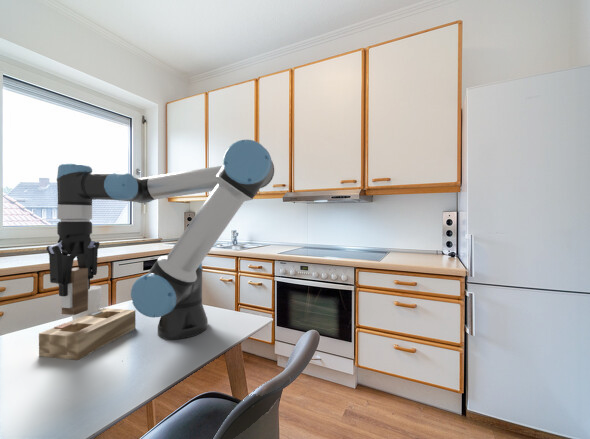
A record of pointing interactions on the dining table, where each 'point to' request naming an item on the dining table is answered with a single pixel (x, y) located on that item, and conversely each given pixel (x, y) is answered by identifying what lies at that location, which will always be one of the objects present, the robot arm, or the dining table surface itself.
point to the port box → (86, 333)
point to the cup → (91, 301)
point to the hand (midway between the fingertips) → (75, 304)
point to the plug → (78, 291)
